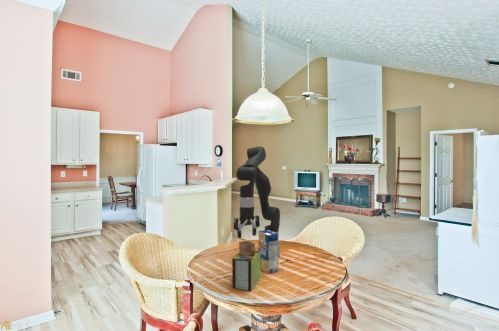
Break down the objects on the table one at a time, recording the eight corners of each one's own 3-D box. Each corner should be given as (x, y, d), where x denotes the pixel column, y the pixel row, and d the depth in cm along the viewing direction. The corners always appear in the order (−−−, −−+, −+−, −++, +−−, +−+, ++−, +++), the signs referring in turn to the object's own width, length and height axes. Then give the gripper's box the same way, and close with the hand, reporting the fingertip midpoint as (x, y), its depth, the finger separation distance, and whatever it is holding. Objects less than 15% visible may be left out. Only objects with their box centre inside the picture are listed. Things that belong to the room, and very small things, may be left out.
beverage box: (268, 274, 159) (268, 235, 159) (258, 267, 169) (258, 230, 168) (278, 271, 162) (278, 233, 162) (267, 265, 172) (268, 229, 171)
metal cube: (249, 251, 151) (249, 240, 150) (254, 255, 145) (254, 243, 145) (239, 253, 148) (239, 242, 147) (244, 256, 142) (244, 245, 142)
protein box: (260, 279, 152) (260, 250, 152) (251, 291, 138) (251, 260, 138) (242, 276, 156) (242, 248, 156) (231, 288, 141) (231, 257, 141)
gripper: (254, 203, 152) (254, 233, 153) (231, 205, 145) (231, 236, 146) (262, 205, 146) (262, 236, 146) (238, 207, 139) (238, 240, 139)
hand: (246, 236), depth 146 cm, fingers open, 8 cm apart
